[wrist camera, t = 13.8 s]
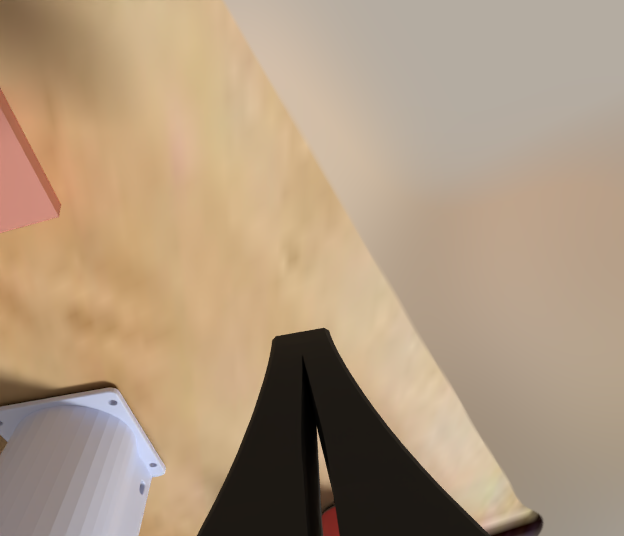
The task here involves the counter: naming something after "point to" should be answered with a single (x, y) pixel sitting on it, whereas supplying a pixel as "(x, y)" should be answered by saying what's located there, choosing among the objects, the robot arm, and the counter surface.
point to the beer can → (330, 522)
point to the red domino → (21, 178)
